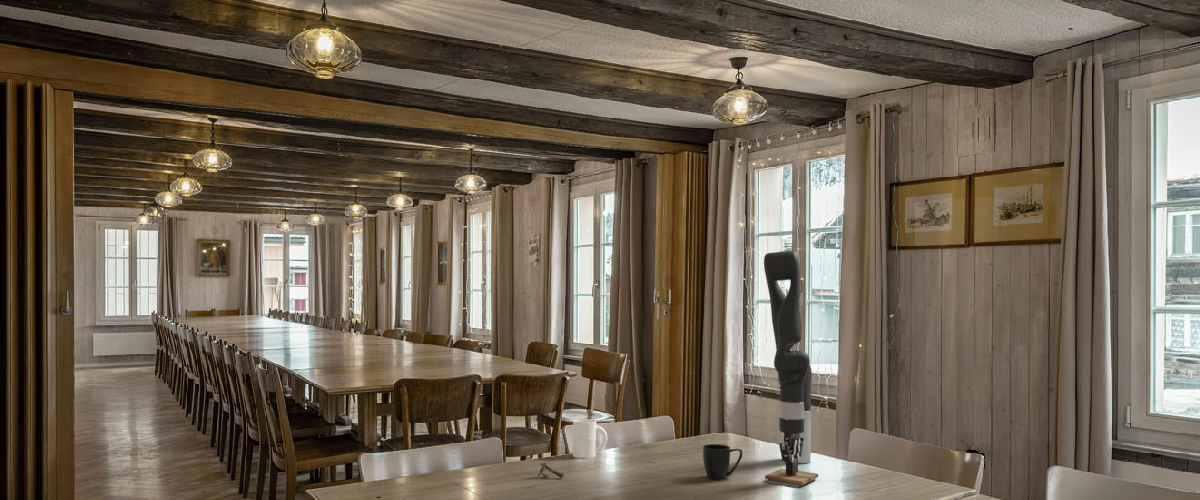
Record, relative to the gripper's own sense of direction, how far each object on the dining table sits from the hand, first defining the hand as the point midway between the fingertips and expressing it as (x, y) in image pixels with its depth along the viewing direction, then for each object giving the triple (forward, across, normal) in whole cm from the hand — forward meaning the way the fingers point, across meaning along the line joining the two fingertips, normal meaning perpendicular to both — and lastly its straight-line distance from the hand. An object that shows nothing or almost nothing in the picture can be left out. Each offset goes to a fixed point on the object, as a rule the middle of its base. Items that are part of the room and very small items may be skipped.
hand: (791, 473), depth 249 cm
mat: (+2, 0, 0) cm, 2 cm away
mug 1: (+3, +10, -69) cm, 70 cm away
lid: (+2, 0, 0) cm, 2 cm away
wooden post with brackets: (+2, +43, -59) cm, 73 cm away
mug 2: (+2, +10, -18) cm, 21 cm away
